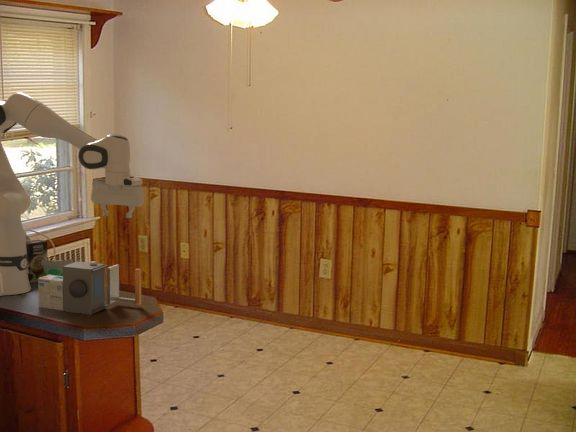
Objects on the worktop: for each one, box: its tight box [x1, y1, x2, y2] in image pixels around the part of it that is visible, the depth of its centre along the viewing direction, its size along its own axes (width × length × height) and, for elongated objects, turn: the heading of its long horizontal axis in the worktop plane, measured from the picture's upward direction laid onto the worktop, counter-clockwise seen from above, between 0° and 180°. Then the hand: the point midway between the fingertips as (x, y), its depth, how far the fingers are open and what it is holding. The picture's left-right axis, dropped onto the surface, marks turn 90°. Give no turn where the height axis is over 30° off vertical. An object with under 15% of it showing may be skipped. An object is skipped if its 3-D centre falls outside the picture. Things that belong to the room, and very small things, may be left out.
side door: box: [106, 263, 142, 306], centre depth 267 cm, size 10×6×14 cm, turn 73°
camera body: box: [63, 260, 109, 316], centre depth 261 cm, size 12×11×17 cm
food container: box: [41, 258, 74, 276], centre depth 296 cm, size 12×6×10 cm, turn 103°
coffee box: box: [26, 239, 48, 284], centre depth 301 cm, size 9×6×16 cm
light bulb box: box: [37, 275, 64, 312], centre depth 265 cm, size 11×7×11 cm, turn 70°
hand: (117, 216), depth 275 cm, fingers open, 8 cm apart
